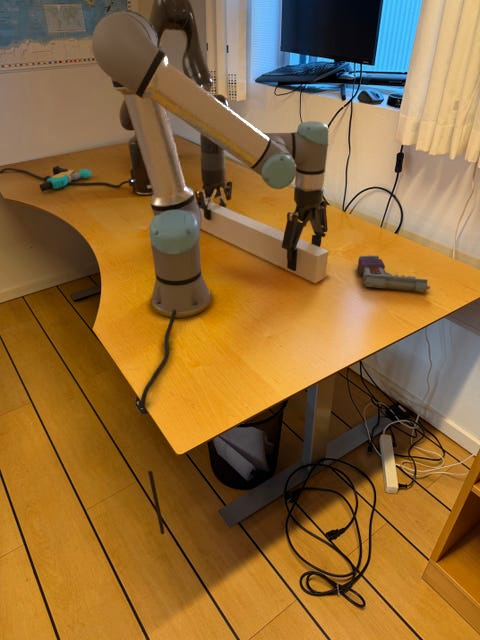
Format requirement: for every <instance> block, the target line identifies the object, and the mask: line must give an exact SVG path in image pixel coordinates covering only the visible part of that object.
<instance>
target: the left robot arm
mask: <svg viewBox="0 0 480 640" xmlns="http://www.w3.org/2000/svg"><path fill="white" fill-rule="evenodd" d="M147 20H148V21H149V22H150V23H151V25H152V26H153V28H154V30H155V31H156V34H157V37H158V48H159V49H160V50H161V51H163V52H164V49H163V46H162V40H163V39H162V38H163V35H164V33H165V31H179V32H181V34H182V36H183V38H184V41H185V44H184V50H183V54H182V60H181V64H182V65H181V66H182V71H183V74H184V75H186V76H187V77H188V78H190V79H191V80H192V81H194V82H195V83H196V84H198V85H199V86H200V87H202V88H203V89H204V90H206V91H207V92H208V93H210V91H211V90H212V89H213V86H214V81H213V78H212V77H213V76H212V75H211V72H210V69H209V67H208V64H207V61H206V60H205V56H204V53H203V49H202V45H201V39H200V35H199V30H198V25H197V21H196V17H195V12H194V8H193V5H192V3H191V0H152V2H151V5H150V10H149V14H148V19H147ZM211 95H212V96H214V97H215V98H216V99H218V100H219V101H220V102H222V103H223V104H224V105H226V106H227V107H228V108H230V104H229V102H228V99H227V98H226V96H225V95H223V94H221V93H219V94H211ZM118 115H119V116H118V118H119V123H120V126H121V127H122V128H123V129H124V130H126V131H129V132H130V131H132V132H133V131H134V128H133V125H132V122H131V118H130V115H129V112H128V109H127V105H126V102H125V99H124V98H123V100H122V102H121V104H120V108H119V113H118ZM199 134H200V135H199V141H200V171H201V172H200V173H201V174H200V175H201V181H202V188H201V189H199V190H198V189H196V190H195V191H194V195H195V199H196V202H197V203H198V205H199V208H201V209H203V210H204V218H205V219H207V220H211V210H210V206H211V203H214V200H215V199H216V198H218V201H219V203H218V205H220V206H222V207H225V208H227V203H228V201H230V200H231V199H232V194H233V193H232V191H233V182H232V181H231V180H228V179H227V177H226V175H227V173H226V155H225V150H224V149H223V148H221V147H220V146H218V145H217V144H215V143H214V142H213V141H211V140H210V139H208V138H207V137H205V136H204V135H203V134H201V133H199ZM127 145H128V149H129V156H130V163H131V164H130V165H131V167H130V168H129V173H130V178H128V180H124V181H122V182H120V184H112V183H109V182H104V181H101V182H100V181H99V182H98V181H97V182H95V181H93V182H72V181H71V182H69V183H67V184H66V185H69V186H70V185H73V186H91V185H102V186H103V185H105V186H109V187H112V188H120V187H122V186H123V185H124V184H128V186H129V187H132V192H133V193H135V194H136V195H140V196H152V195H153V190H152V187H151V184H150V181H149V177H148V174H147V171H146V167H145V164H144V161H143V158H142V154H141V151H140V148H139V145H138V141H137V138H136V135H135V134H134V135H133V136H132V137H131V138H129V140H128V144H127ZM5 171H14V172H19V173H25V174H27V175H30V176H32V177H35V178H37V179H39V180H42V181H44V179H43V178H44V177H42V176H39V175H37V174H35V173H32V172H30V171H27V170H24V169H19V168H13V167H4V168H2V169H1V170H0V174H2V173H3V172H5ZM207 202H208V203H207Z"/></svg>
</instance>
